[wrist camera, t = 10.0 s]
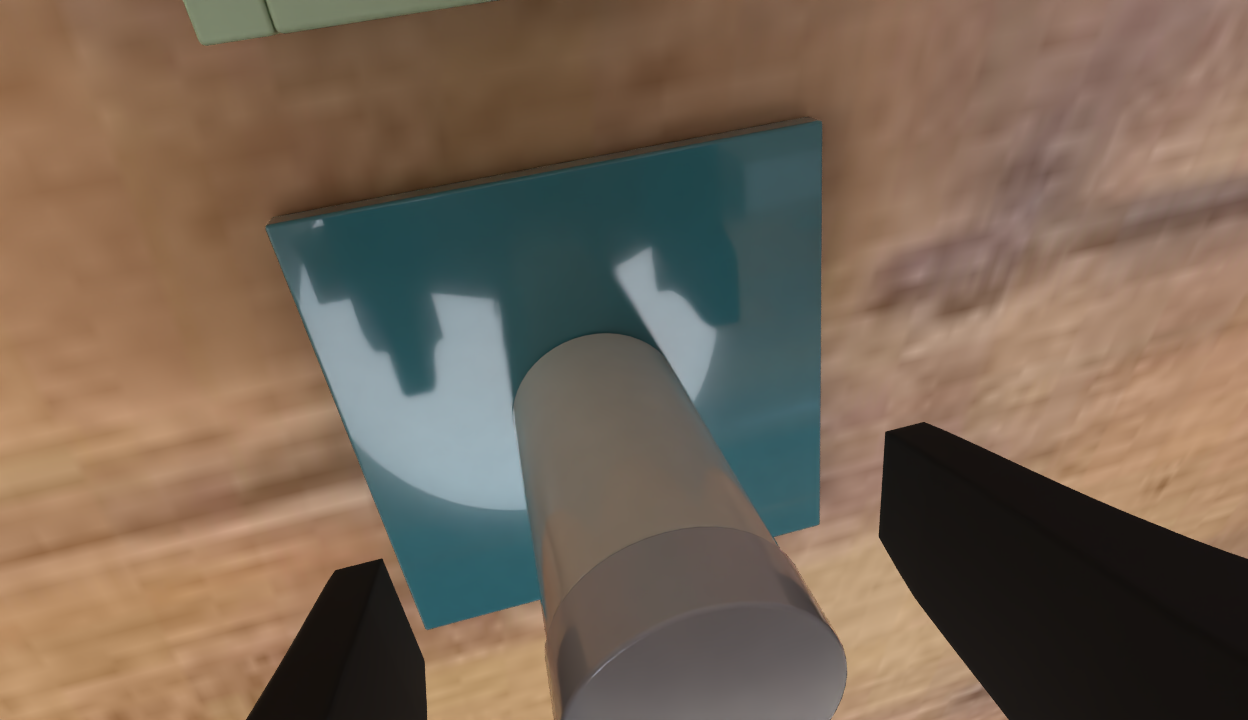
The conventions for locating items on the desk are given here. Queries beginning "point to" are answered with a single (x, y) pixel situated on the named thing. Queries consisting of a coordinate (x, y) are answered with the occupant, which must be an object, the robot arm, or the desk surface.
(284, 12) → the spice rack
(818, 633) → the shaker
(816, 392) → the coaster
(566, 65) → the desk surface
